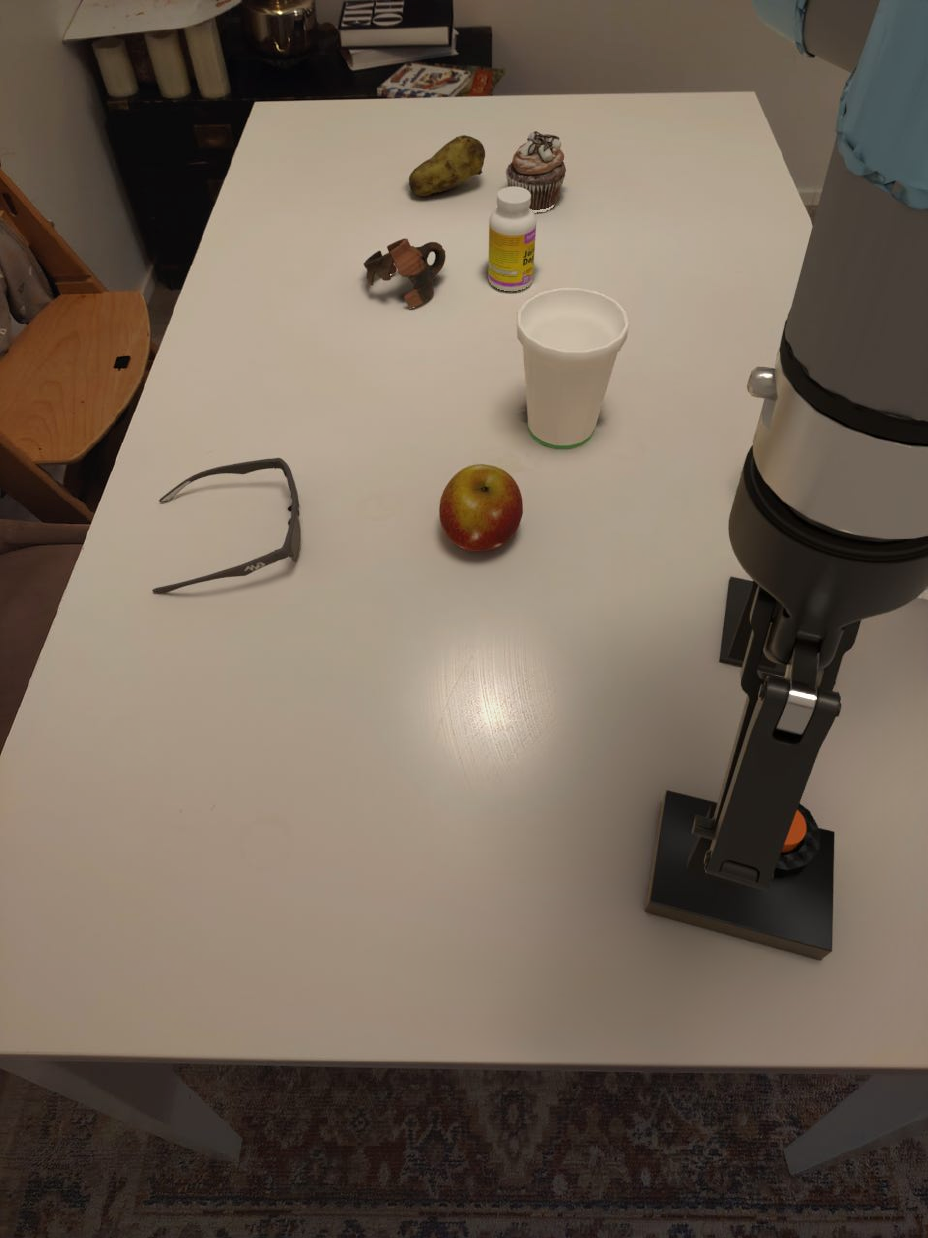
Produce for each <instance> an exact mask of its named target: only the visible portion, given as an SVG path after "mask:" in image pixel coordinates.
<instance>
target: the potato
mask: <svg viewBox="0 0 928 1238" xmlns="http://www.w3.org/2000/svg"><path fill="white" fill-rule="evenodd" d="M485 158H486V149H485V147H484V145H483V143H482V142H481V141H480V140H479V139H477V138H474V137H473V136H470V135H466V134H463V135H459V136H456V137H455V138H453V139H451V140H450V141H448V142H447V143H446V144H444V145H443V146H442V147H441V148H440V149H439V150H437V151H436V152H435V153H434V154H433V155H432V157H430V158H429V159H426V160H425V161H424V162H422V163H421V164H419V165H418V166H417V167H415V168H413V170H412V172H411V173H410V174H409V177H408V185H409V189H410V192H411V193H413V194H414V195H416V196H419V197H428V196H431V195H432V194H437V192H438V193H443V192H444V191H445V192H447V191H449V190H451V189H454V188H455V187H457V186H459V185H460V184H462V183H463V182H465V181H467V180H468V179H470V178H473V177H475V176H477V175H478V176H480V175H482V174H483V168H484V167H483V166H484V164H485ZM442 191H443V192H442Z"/></svg>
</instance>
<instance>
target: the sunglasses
mask: <svg viewBox="0 0 928 1238" xmlns="http://www.w3.org/2000/svg"><path fill="white" fill-rule="evenodd" d="M267 469H274V470H276V469H279V470H282V472H283V475H284V477H285V478H286V480H287V485H288V489H289V493H290V499H291V503H290V505H289V506H287V509H286V510H287V511H288V512H289V513H290V518H289V519H288V522H287V525H288V529H287V533H286V536H285V539H284V542H283V544H282V547H281V548H278V549H274V551H270V552H269V553H267V554H265V555H262V556H259V557H257V558H254V559H252V560H249V561H247V562H244V563H242V564H237V565H235V566H232V567H229V568H225V569H222V570H220V571H216V572H213V573H210V574H206V575H203V576H200V577H196V578H193V579H189V580H185V581H181V582H177V583H173V584H168V585H164V586H158V587H155V588H153V589H151V591H152V593H156V594H162V595H163V594H167V593H168V594H169V593H171V592H172V591H175V590H178V589H181V588H184V587H188V586H191V585H195V584H199V583H205V582H210V581H213V580H219V579H225V578H237V577H245V576H249V575H250V574H252V573H254V572H256V571H258V570H260V569H263V568H265V567H266V566H267V567H268V566H269V565H272V564H274V563H276V562H278V561H283V560H285V559H288V558H290V559H291V561H292V562H297V560H298V559H299V554H300V549H301V541H302V537H301V536H302V535H301V533H302V532H301V523H300V518H299V517H300V501H299V500H300V499H299V494H298V490H297V486H296V482H295V478H294V477H293V472H292V471H291V468H290V466H289V464H288V463H287V462H286V461H285V460H284V459H283V458H281V457H274V458H273V457H272V458H263V459H262V458H261V459H256V460H249V461H244V462H238V463H232V464H226V465H221V466H217V467H213V468H209V469H206V470H203V471H200V472H198V473H195V474H193V475H191V476H190V477H188V478H186V479H184V480H182V482H180V483H179V484H178V485H176V486H175V487H173V488H172V489H170V491H168V492H167V493H166V494H164V495H163V496H162V497H160V499H158V502H159V503H161V504H162V503H167V502H169V501H171V500H172V499H174V497H176V496H177V495H178V494H179V493H180V492H181V491H182V490H183V489H184V488H186V487H187V486H189V485H190V484H192V483H194V482H195V481H198V480H200V479H203V478H206V477H209V476H215V475H224V474H225V475H226V474H230V475H231V474H233V475H246V474H249V473H253V472H256V471H261V470H267Z"/></svg>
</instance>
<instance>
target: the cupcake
mask: <svg viewBox="0 0 928 1238" xmlns="http://www.w3.org/2000/svg"><path fill="white" fill-rule="evenodd" d="M526 140H527V141H526V142H524V143H523V144H522V145H520V146H519V147H518V148H517V150H516V151H515V153H514V154H513V157H512V160H511V162H510V163H509V164H507V168H505V177H506V182H507V187H512V186H515V187H522V188H525V189H527V190H528V191H529V192H530V194H531V204H530V206H529V209H532V210H540V209H546V208H549V207H551V206H552V205H554V204H555V203H556V202H557V203H558V200H559V195H560V192H561V188H562V186H563V184H564V180H565V177H566V173H567V168H566V165H565V162H564V160H565V153H564V151H563V150H562V149H561V147H562V142H561V140H560V137H559V136H557V135H554V134H543V133H540V132H539V131H537V130H534V131H533V132H530V133H529V134H528V136H527V139H526Z"/></svg>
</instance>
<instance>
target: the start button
mask: <svg viewBox="0 0 928 1238" xmlns="http://www.w3.org/2000/svg"><path fill="white" fill-rule="evenodd" d="M805 834H806V822H805V819H804V817H803V816H802V814H801V813H800V812H799V811H798V810H797V811H796V814H795V817H794V819H793V822H792V825H791V827H790V830H789V833H788V836H787V838H786V841H785V844H784V846H783V849H782V852H781V853H784V852H789V851H791V850H793V849H794V848H795V847H796V846H797V845H798V844H799V843H800V842H801V840H802V839H803V838H804V836H805Z"/></svg>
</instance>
